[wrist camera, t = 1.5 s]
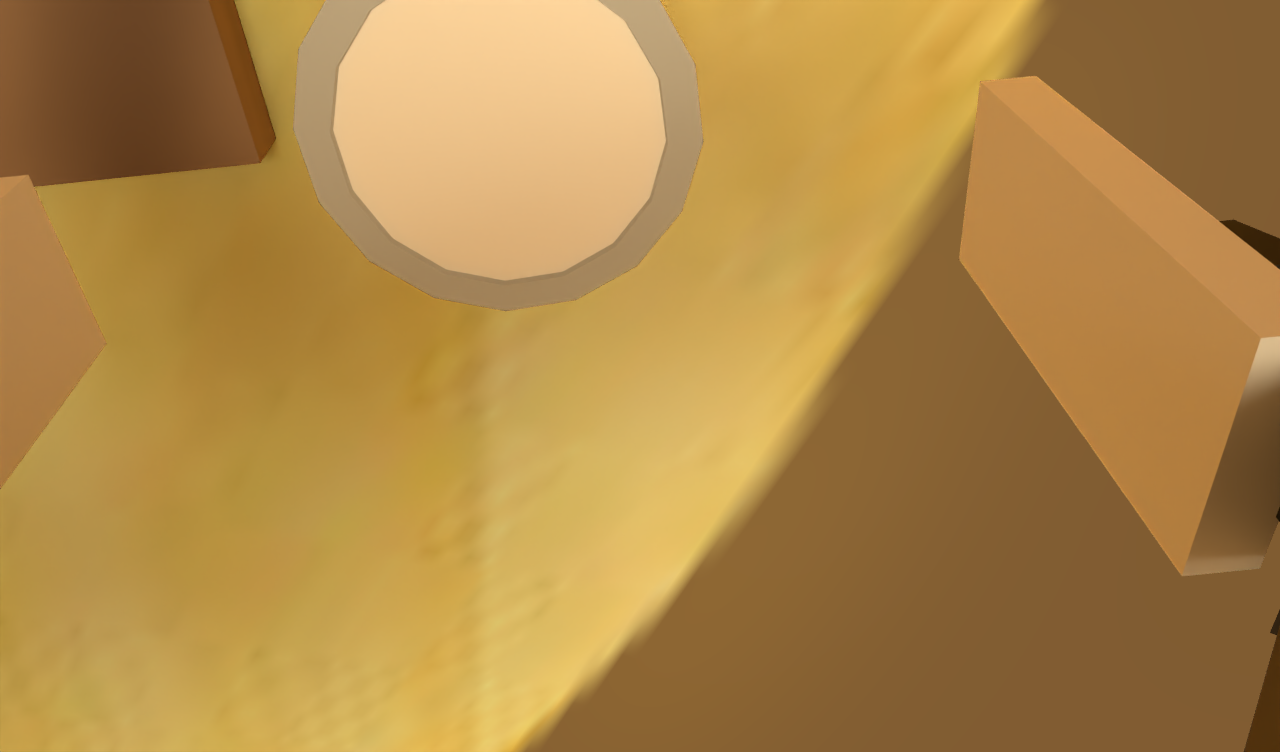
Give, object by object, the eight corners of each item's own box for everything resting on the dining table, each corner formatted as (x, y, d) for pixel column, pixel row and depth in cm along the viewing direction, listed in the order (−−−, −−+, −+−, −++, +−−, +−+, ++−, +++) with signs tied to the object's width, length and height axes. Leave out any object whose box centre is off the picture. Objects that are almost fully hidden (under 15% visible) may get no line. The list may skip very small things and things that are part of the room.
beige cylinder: (590, 210, 25) (602, 362, 19) (322, 100, 23) (244, 233, 17) (719, -52, 22) (779, 36, 16) (418, -209, 19) (361, -174, 14)
